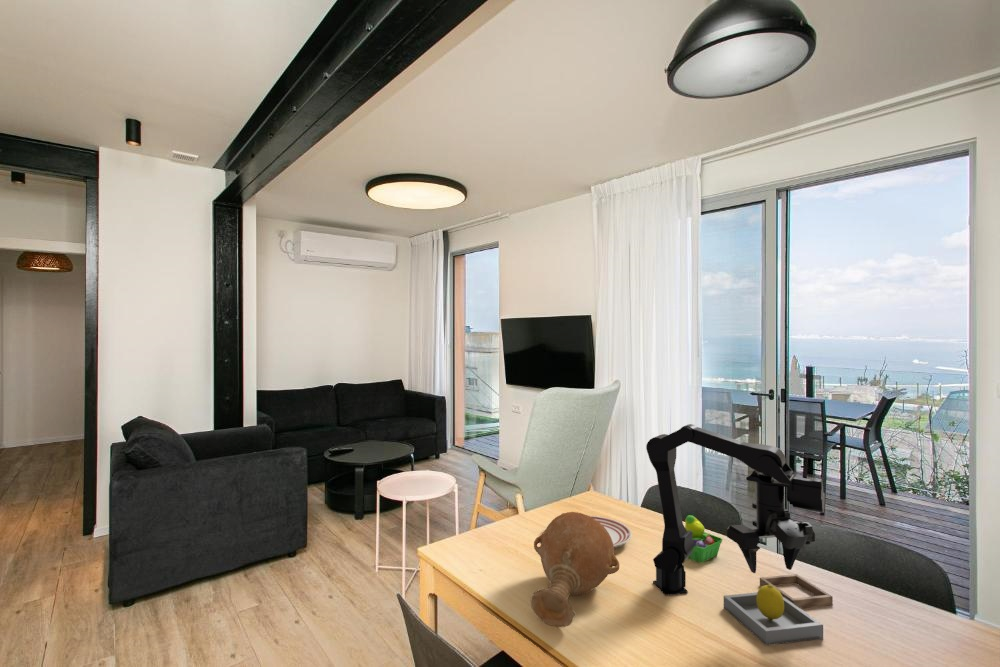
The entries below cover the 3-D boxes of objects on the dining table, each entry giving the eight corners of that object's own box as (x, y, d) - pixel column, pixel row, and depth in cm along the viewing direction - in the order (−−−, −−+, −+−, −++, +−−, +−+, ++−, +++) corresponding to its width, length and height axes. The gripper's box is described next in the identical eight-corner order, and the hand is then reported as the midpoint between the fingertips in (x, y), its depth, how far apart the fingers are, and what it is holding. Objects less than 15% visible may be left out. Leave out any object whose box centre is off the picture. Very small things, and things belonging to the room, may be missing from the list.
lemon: (788, 628, 103) (788, 592, 103) (761, 625, 104) (761, 589, 104) (778, 614, 108) (778, 580, 108) (753, 611, 109) (752, 577, 110)
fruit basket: (702, 566, 133) (702, 526, 133) (675, 554, 140) (675, 517, 140) (723, 556, 140) (723, 518, 140) (696, 545, 147) (696, 509, 147)
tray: (766, 645, 98) (766, 631, 98) (723, 608, 112) (723, 595, 112) (823, 638, 100) (823, 624, 101) (774, 602, 114) (774, 590, 114)
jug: (634, 537, 124) (616, 609, 97) (593, 581, 130) (565, 661, 103) (575, 487, 130) (542, 541, 102) (538, 532, 135) (498, 595, 108)
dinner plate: (531, 544, 147) (531, 534, 147) (566, 517, 170) (566, 508, 171) (616, 566, 133) (616, 555, 133) (641, 534, 156) (641, 524, 156)
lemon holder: (793, 608, 112) (793, 600, 112) (759, 585, 123) (759, 577, 123) (832, 604, 114) (832, 596, 114) (796, 581, 125) (796, 574, 125)
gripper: (759, 517, 97) (760, 593, 97) (835, 512, 100) (837, 585, 100) (725, 500, 108) (725, 567, 108) (794, 495, 111) (795, 561, 111)
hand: (771, 570), depth 106 cm, fingers open, 9 cm apart
